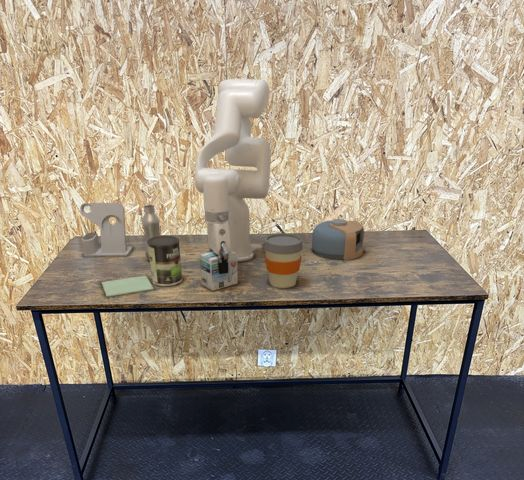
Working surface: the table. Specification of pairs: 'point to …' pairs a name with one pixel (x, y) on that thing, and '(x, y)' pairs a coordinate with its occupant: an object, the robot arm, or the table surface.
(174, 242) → the coffee can
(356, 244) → the alarm clock
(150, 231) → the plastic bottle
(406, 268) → the table surface
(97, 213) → the phone holder
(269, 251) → the reusable coffee cup
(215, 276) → the light bulb box
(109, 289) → the pad
